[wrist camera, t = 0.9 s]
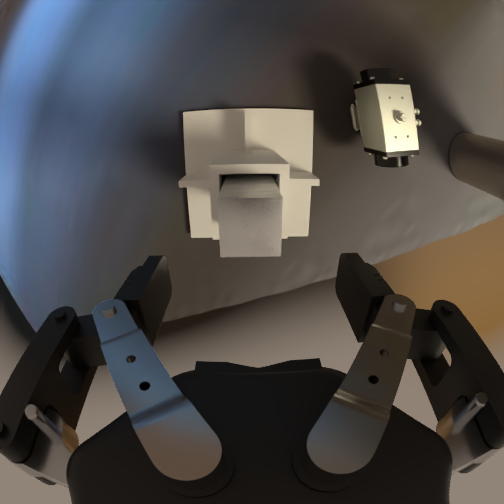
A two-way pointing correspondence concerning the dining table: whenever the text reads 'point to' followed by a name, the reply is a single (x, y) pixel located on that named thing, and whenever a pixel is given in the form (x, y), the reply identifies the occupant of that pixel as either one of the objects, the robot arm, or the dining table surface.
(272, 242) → the column
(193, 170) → the stand base
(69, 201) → the dining table surface
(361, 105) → the pneumatic valve
